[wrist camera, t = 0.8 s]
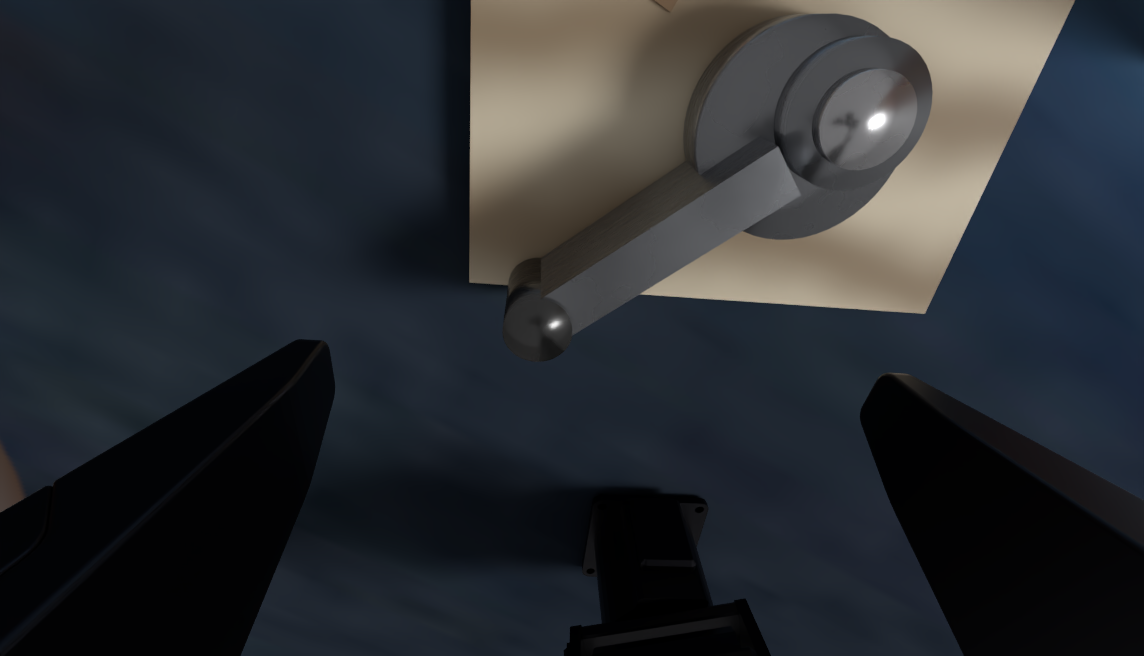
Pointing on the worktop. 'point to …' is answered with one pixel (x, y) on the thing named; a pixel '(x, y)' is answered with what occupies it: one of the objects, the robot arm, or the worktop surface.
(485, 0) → the level board
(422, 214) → the worktop surface
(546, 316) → the grey metal handled piece
